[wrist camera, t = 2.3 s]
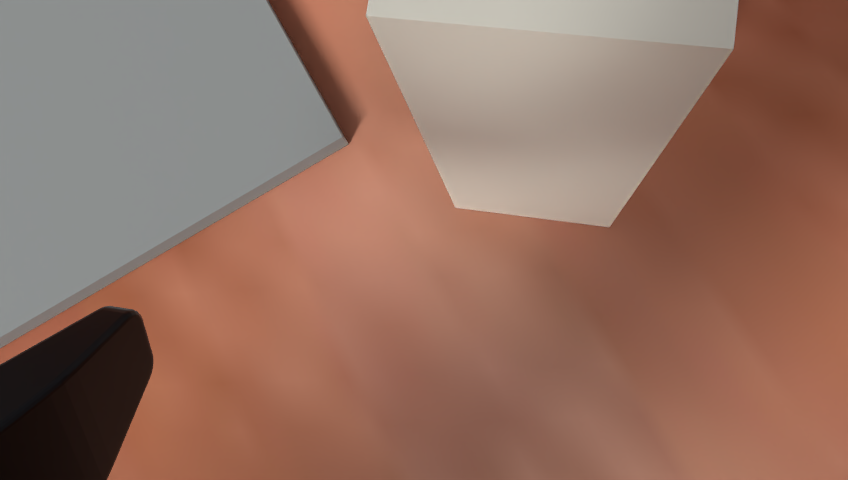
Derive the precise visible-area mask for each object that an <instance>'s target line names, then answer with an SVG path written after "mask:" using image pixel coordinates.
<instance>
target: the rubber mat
mask: <svg viewBox="0 0 848 480" xmlns="http://www.w3.org/2000/svg"><path fill="white" fill-rule="evenodd" d="M346 145H348V142H347V140H346V138H345V137H344V135H343V133H342V131H341V129H340V128H339V126H338V124H337V122H336V121H335V119H334V117H333V115H332V113H331V112H330V110H329V108H328V106H327V105H326V103H325V101H324V99H323V97H322V96H321V94H320V92H319V90H318V88H317V87H316V85H315V83H314V81H313V80H312V78H311V76H310V74H309V72H308V71H307V69H306V67H305V65H304V63H303V62H302V60H301V58H300V56H299V55H298V53H297V51H296V49H295V47H294V46H293V44H292V42H291V40H290V39H289V37H288V35H287V33H286V31H285V30H284V28H283V26H282V24H281V22H280V21H279V19H278V17H277V15H276V14H275V12H274V10H273V8H272V6H271V5H270V3H269V1H268V0H0V348H1V347H3V346H5V345H6V344H8V343H10V342H12V341H13V340H15V339H17V338H18V337H20V336H22V335H24V334H25V333H27V332H29V331H30V330H32V329H34V328H36V327H37V326H39V325H41V324H42V323H44V322H46V321H47V320H49V319H51V318H53V317H54V316H56V315H58V314H59V313H61V312H63V311H65V310H66V309H68V308H70V307H71V306H73V305H75V304H77V303H78V302H80V301H82V300H83V299H85V298H87V297H88V296H90V295H92V294H94V293H95V292H97V291H99V290H100V289H102V288H104V287H106V286H107V285H109V284H111V283H112V282H114V281H116V280H118V279H119V278H121V277H123V276H124V275H126V274H128V273H129V272H131V271H133V270H135V269H136V268H138V267H140V266H141V265H143V264H145V263H147V262H148V261H150V260H152V259H153V258H155V257H157V256H159V255H160V254H162V253H164V252H165V251H167V250H169V249H170V248H172V247H174V246H176V245H177V244H179V243H181V242H182V241H184V240H186V239H188V238H189V237H191V236H193V235H194V234H196V233H198V232H200V231H201V230H203V229H205V228H206V227H208V226H210V225H211V224H213V223H215V222H217V221H218V220H220V219H222V218H223V217H225V216H227V215H229V214H230V213H232V212H234V211H235V210H237V209H239V208H241V207H242V206H244V205H246V204H247V203H249V202H251V201H252V200H254V199H256V198H258V197H259V196H261V195H263V194H264V193H266V192H268V191H270V190H271V189H273V188H275V187H276V186H278V185H280V184H282V183H283V182H285V181H287V180H288V179H290V178H292V177H293V176H295V175H297V174H299V173H300V172H302V171H304V170H305V169H307V168H309V167H311V166H312V165H314V164H316V163H317V162H319V161H321V160H323V159H324V158H326V157H328V156H329V155H331V154H333V153H334V152H336V151H338V150H340V149H341V148H343V147H345V146H346Z"/></svg>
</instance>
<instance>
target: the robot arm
mask: <svg viewBox="0 0 848 480" xmlns="http://www.w3.org/2000/svg"><path fill="white" fill-rule="evenodd" d="M152 369H153V354H152V350H151V347H150V343H149V340H148V336H147V333H146V330H145V326H144V323H143V319H142V317H141V315H140V314H139V313H138V312H137V311H135V310H132V309H126V308H119V307H113V306H106V307H102V308H100V309H98V310H96V311H95V312H93V313H91V314H89V315H87V316H86V317H84V318H82V319H80V320H79V321H77V322H75V323H73V324H71V325H70V326H68V327H66V328H64V329H63V330H61V331H59V332H57V333H56V334H54V335H52V336H50V337H48V338H47V339H45V340H43V341H41V342H40V343H38V344H36V345H34V346H32V347H31V348H29V349H27V350H25V351H24V352H22V353H20V354H18V355H17V356H15V357H13V358H11V359H9V360H8V361H6V362H4V363H2V364H1V365H0V480H107V478H108V476H109V474H110V472H111V469H112V467H113V465H114V462H115V460H116V458H117V455H118V453H119V451H120V448H121V446H122V443H123V441H124V439H125V436H126V434H127V431H128V429H129V427H130V424H131V422H132V419H133V417H134V415H135V412H136V410H137V407H138V405H139V403H140V400H141V398H142V396H143V393H144V391H145V388H146V386H147V384H148V381H149V379H150V376H151V373H152Z"/></svg>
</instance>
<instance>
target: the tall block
mask: <svg viewBox="0 0 848 480" xmlns="http://www.w3.org/2000/svg"><path fill="white" fill-rule="evenodd" d="M738 2H739V0H369V1H368V7H367V13H366V17H367V19H368V21H369V23H370V26H371V28H372V30H373V32H374V34H375V36H376V38H377V41H378V43H379V45H380V47H381V49H382V51H383V53H384V56H385V58H386V60H387V62H388V64H389V66H390V68H391V71H392V73H393V75H394V77H395V79H396V81H397V83H398V86H399V88H400V90H401V92H402V94H403V96H404V99H405V101H406V103H407V105H408V107H409V109H410V111H411V114H412V116H413V118H414V120H415V122H416V124H417V126H418V129H419V131H420V133H421V135H422V137H423V139H424V141H425V144H426V146H427V148H428V150H429V152H430V154H431V156H432V159H433V161H434V163H435V165H436V167H437V169H438V171H439V174H440V176H441V178H442V180H443V182H444V184H445V187H446V189H447V191H448V193H449V195H450V197H451V199H452V202H453V204H454V206H455V208H461V209H469V210H477V211H485V212H493V213H501V214H508V215H516V216H524V217H532V218H540V219H548V220H555V221H563V222H571V223H579V224H587V225H595V226H603V227H610V226H611V224H612V223H613V221H614V220H615V219H616V217H617V216H618V214H619V213H620V211H621V210H622V209H623V207H624V206H625V204H626V203H627V201H628V200H629V199H630V197H631V196H632V194H633V193H634V191H635V190H636V188H637V187H638V186H639V184H640V183H641V181H642V180H643V178H644V177H645V176H646V174H647V173H648V171H649V170H650V168H651V167H652V165H653V164H654V163H655V161H656V160H657V158H658V157H659V155H660V154H661V153H662V151H663V150H664V148H665V147H666V145H667V144H668V143H669V141H670V140H671V138H672V137H673V135H674V134H675V132H676V131H677V130H678V128H679V127H680V125H681V124H682V122H683V121H684V120H685V118H686V117H687V115H688V114H689V112H690V111H691V110H692V108H693V107H694V105H695V104H696V102H697V101H698V99H699V98H700V97H701V95H702V94H703V92H704V91H705V89H706V88H707V87H708V85H709V84H710V82H711V81H712V79H713V78H714V77H715V75H716V74H717V72H718V71H719V69H720V68H721V66H722V65H723V64H724V62H725V61H726V59H727V58H728V56H729V55H730V54H731V52H732V51H733V49H734V40H735V31H736V21H737V12H738Z"/></svg>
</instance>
